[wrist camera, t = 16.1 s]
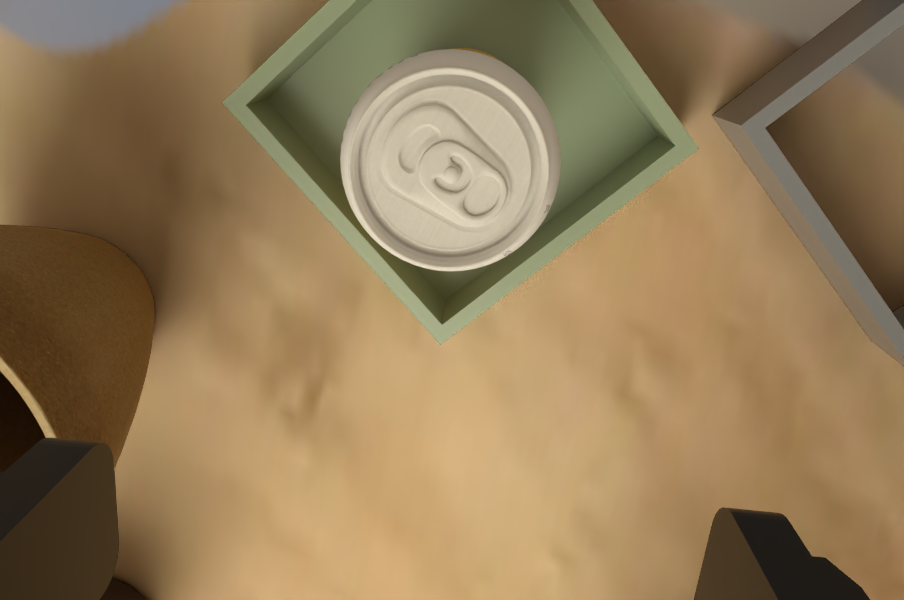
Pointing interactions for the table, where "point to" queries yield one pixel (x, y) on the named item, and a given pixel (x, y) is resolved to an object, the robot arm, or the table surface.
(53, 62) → the table surface
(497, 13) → the olive bin
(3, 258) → the plant pot
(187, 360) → the table surface
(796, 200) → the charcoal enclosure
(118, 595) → the bottle
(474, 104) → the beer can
